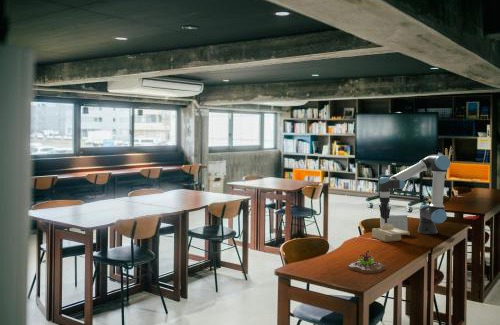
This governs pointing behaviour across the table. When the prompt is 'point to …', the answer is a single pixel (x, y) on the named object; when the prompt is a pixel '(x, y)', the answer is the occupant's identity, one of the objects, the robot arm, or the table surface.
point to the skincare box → (397, 222)
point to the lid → (391, 230)
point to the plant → (366, 265)
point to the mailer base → (385, 236)
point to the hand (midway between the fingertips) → (385, 226)
